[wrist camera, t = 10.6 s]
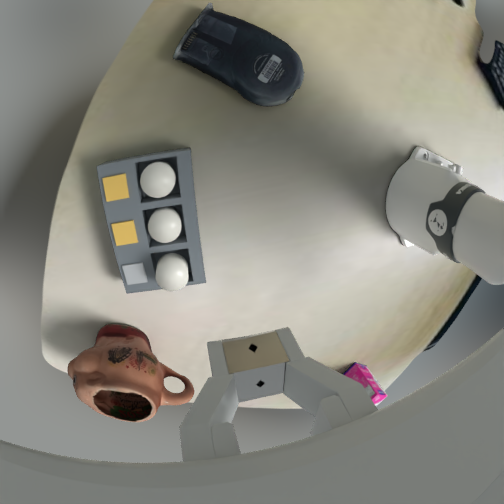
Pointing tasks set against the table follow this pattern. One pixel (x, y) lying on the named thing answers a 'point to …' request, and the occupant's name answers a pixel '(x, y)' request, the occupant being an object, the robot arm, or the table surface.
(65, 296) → the table surface
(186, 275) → the button
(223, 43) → the electronic device
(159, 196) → the end button
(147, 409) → the character mug
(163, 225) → the middle button
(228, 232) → the table surface
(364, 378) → the supplement box
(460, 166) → the robot arm
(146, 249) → the button panel
